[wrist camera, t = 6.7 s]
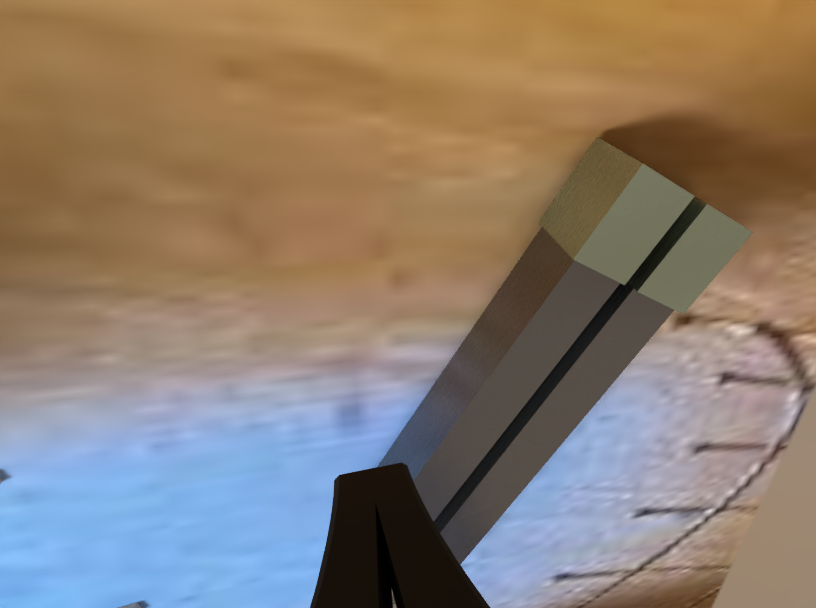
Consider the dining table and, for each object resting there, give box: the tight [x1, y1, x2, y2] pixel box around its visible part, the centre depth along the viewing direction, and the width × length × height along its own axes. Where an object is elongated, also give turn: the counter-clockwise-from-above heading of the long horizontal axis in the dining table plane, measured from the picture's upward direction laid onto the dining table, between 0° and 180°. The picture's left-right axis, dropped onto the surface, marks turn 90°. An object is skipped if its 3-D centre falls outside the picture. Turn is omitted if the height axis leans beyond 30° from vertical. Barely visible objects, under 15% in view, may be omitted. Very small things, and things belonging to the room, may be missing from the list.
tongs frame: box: [392, 197, 753, 608], centre depth 20 cm, size 4×20×4 cm, turn 151°
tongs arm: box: [378, 137, 695, 522], centre depth 19 cm, size 2×16×3 cm, turn 150°
